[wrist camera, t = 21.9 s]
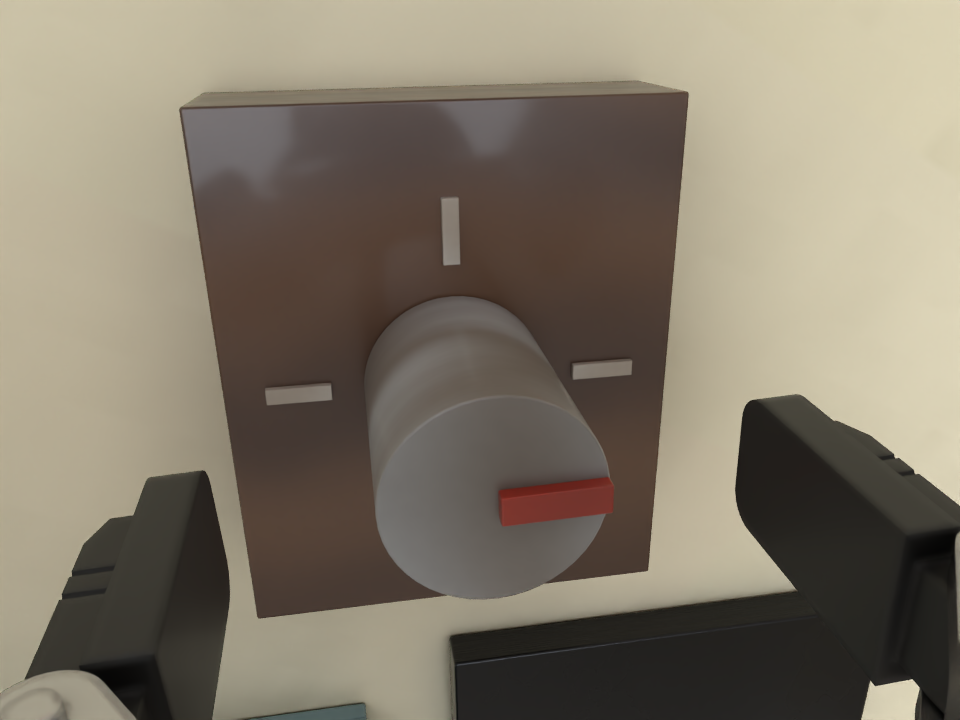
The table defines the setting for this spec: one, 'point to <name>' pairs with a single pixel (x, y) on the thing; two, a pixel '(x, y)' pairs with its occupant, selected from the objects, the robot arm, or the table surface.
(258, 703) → the table surface
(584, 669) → the plate
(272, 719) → the basin
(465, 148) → the rotary knob panel
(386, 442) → the tap dial
